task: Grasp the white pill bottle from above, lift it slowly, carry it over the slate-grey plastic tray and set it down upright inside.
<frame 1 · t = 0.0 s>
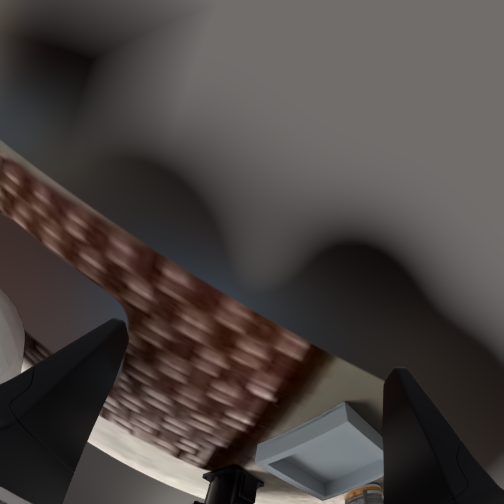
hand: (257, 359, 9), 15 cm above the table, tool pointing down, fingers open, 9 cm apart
tray: (332, 451, 30), on the table
pill bottle: (362, 489, 32), on the table
pitcher: (6, 314, 31), on the table
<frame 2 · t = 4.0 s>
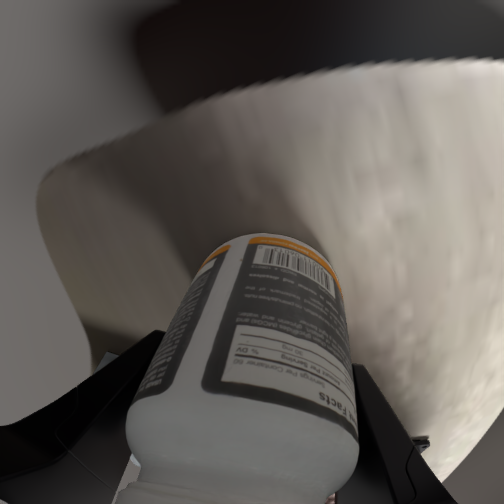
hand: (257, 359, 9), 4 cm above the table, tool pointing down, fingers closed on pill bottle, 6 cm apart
pill bottle: (269, 288, 12), on the table, touching gripper
when the fingers open (5 cm above the table, at t = 11.0 s): pill bottle drops 1 cm, resting on tray.
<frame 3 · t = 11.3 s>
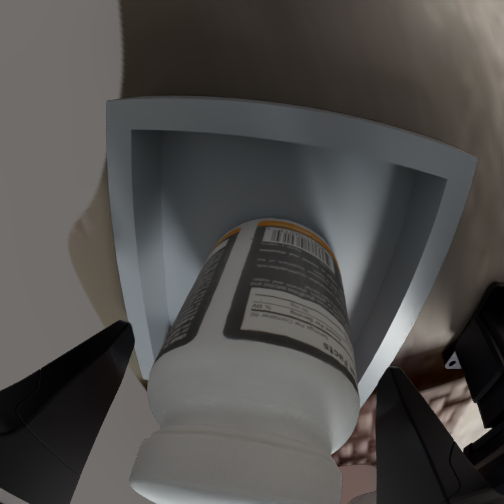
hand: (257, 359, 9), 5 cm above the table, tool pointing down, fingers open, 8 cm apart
tray: (273, 265, 14), on the table
pill bottle: (274, 270, 13), resting on tray
pitcher: (378, 495, 33), on the table
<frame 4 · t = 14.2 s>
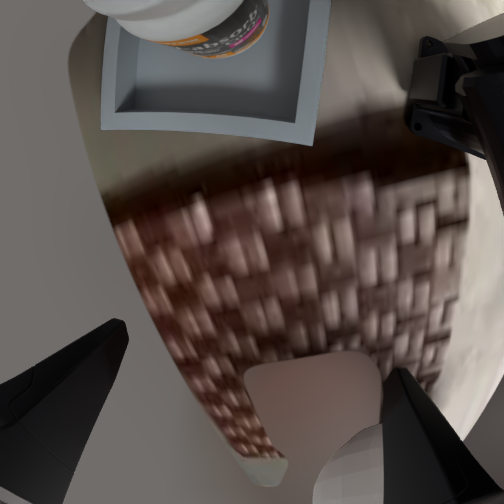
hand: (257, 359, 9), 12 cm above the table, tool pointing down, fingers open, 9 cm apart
tray: (221, 18, 14), on the table
pill bottle: (221, 17, 13), resting on tray
pitcher: (380, 435, 33), on the table
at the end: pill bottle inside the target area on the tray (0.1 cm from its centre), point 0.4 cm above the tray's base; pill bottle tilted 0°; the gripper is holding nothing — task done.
